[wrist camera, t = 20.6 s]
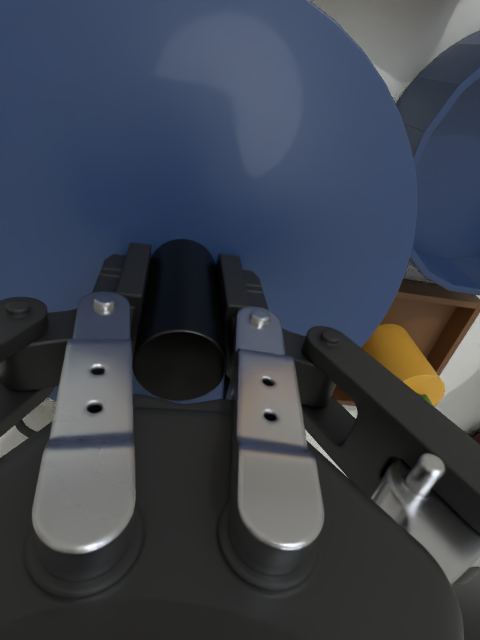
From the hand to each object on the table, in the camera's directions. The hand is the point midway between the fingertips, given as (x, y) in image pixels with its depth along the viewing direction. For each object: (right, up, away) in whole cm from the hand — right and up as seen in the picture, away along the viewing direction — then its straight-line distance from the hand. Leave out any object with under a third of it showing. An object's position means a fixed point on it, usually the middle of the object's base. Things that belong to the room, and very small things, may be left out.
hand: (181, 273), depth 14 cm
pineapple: (+16, -4, +24) cm, 29 cm away
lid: (0, 0, +1) cm, 1 cm away
